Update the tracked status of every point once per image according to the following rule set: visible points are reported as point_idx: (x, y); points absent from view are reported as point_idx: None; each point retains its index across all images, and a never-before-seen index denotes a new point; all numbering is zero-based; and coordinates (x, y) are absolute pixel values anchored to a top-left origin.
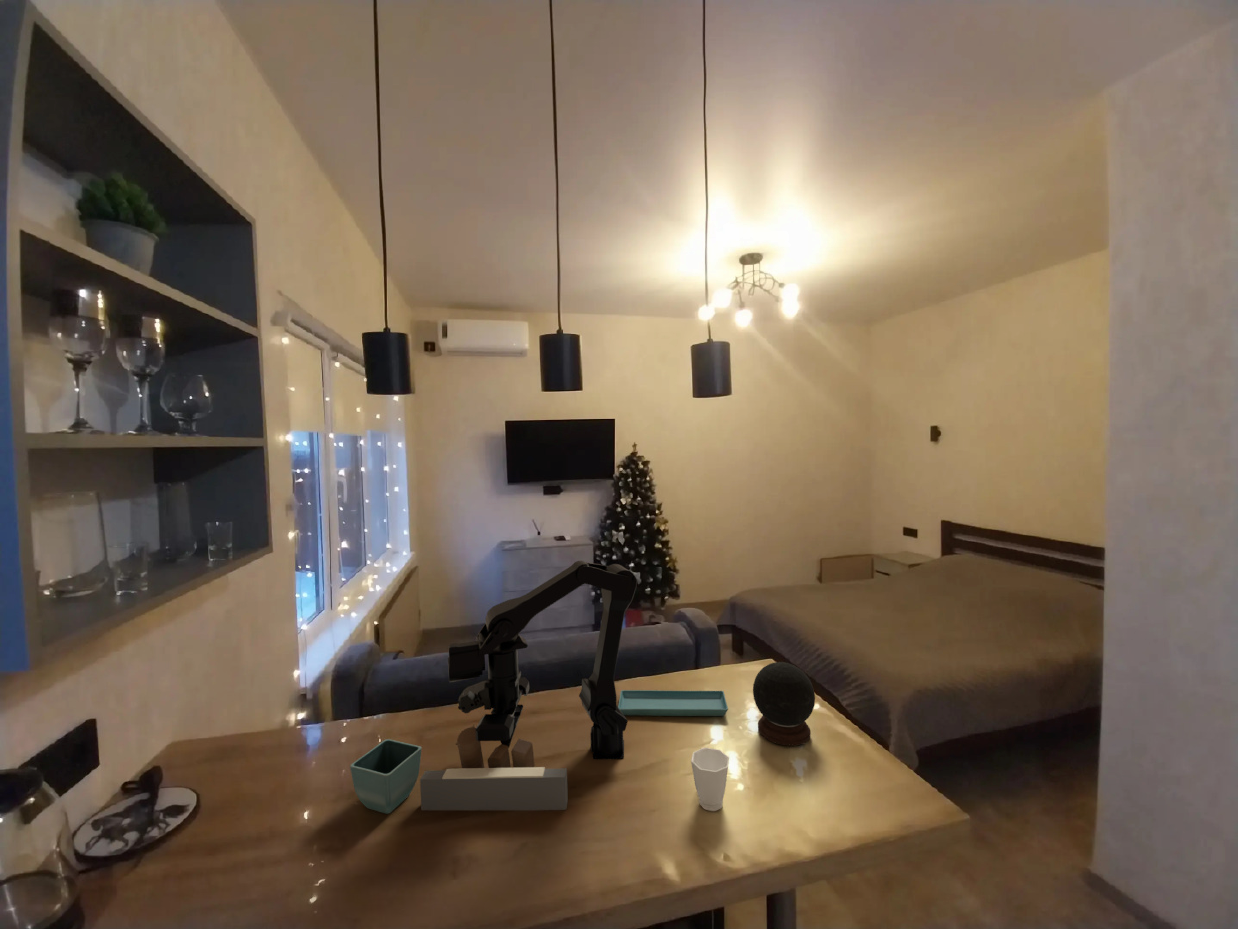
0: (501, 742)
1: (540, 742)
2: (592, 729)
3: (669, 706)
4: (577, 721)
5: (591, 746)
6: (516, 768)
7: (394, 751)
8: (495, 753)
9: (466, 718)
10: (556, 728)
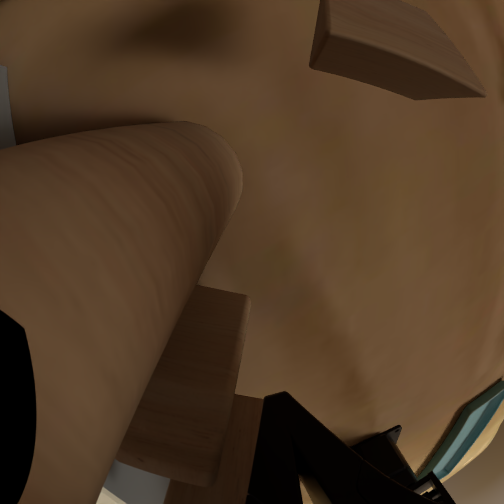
0: (257, 443)
1: (425, 322)
2: (391, 476)
3: (453, 443)
4: (476, 354)
5: (363, 457)
6: (106, 499)
7: None
8: (127, 453)
9: (501, 20)
10: (469, 326)
